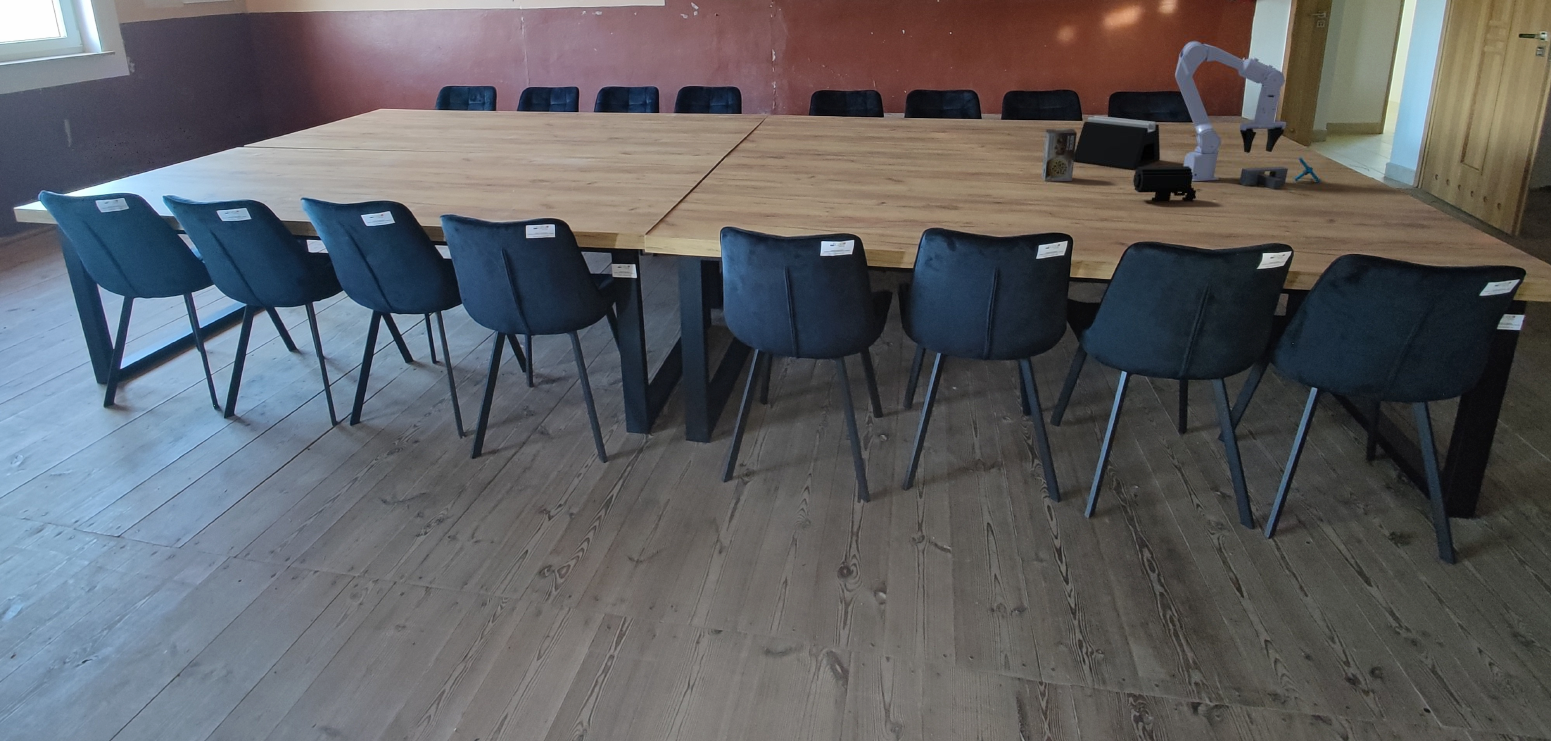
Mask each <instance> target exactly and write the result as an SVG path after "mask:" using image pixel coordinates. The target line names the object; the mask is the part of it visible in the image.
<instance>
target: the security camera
mask: <svg viewBox="0 0 1551 741" xmlns="http://www.w3.org/2000/svg"><path fill="white" fill-rule="evenodd" d="M1191 171H1192V169H1191V168H1189V167H1187V166H1184V165H1183V166H1182V165H1181V166H1178V165H1177V166H1174V165H1173V166H1172V165H1171V166H1143V167H1138V168H1137V169H1135V172H1134V175H1133V182H1132V183H1133V187H1134V190H1135V191H1136V192H1137V193H1154V197H1151V201H1152V202H1154V203H1155V202H1156V203H1157V202H1158V203H1164V202H1165V203H1166V202H1167V203H1169V202H1170V201H1171V196H1172V194H1173V196H1174V197H1182V198H1181V200H1182V201H1184V202H1194V200H1196V199H1197V196H1196V194H1197V190H1195V188H1194V187H1193V186H1192V182H1193V181H1192V178H1193V175H1192V172H1191Z"/></svg>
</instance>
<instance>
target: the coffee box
mask: <svg viewBox="0 0 1551 741" xmlns="http://www.w3.org/2000/svg"><path fill="white" fill-rule="evenodd" d="M1077 134H1078V132H1077V131H1076V130H1075V129H1074V128H1062V129H1061V128H1059V129H1058V128H1055V129H1053V128H1052V129H1051V128H1048V129H1046V130H1045V137H1044V138H1045V140H1044V146H1043V147H1044V148H1043V158H1042V170H1041V178H1042V180H1043V181H1044V182H1072V181H1073V173H1074V163H1075V162H1074V155H1075V150H1076V146H1077V144H1076V143H1077Z"/></svg>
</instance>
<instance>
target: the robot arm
mask: <svg viewBox="0 0 1551 741" xmlns="http://www.w3.org/2000/svg"><path fill="white" fill-rule="evenodd" d="M1204 61H1205V62H1213V61H1215V62H1216V61H1217V62H1219V63H1222V64H1224V65H1226V66H1229V67H1230V68H1231V67H1232V68H1234V69H1236V70H1237V71H1238V76H1240V77H1242V78H1245V79H1247V80H1249V81H1251V82H1253V83H1256V84H1261V87H1260V91H1259V94H1258V100H1257V103H1256V104H1257V105H1256V110H1255V115H1254V119H1253V121H1249V122H1241V123H1240V126H1239V130H1240V131H1239V132H1240V135H1241V137H1242V142H1243V143H1242V144H1243V152H1244V153H1246V154H1250V152H1251V151H1252V145H1253V142H1254V138H1255V137H1256V134H1257V132H1256V131H1254V130H1266V131H1267V139H1266V140H1267V141H1266V145H1265V151H1266V152H1269V153H1272V151H1273V149H1274V147H1275V146H1276V144H1277V142H1278V140H1279V139H1280V138H1281V136H1282V135H1283V134H1284V132H1285V129H1286V126H1287V122H1285V121H1275V118H1276V113H1277V109H1278V104H1279V100H1280V91H1281V87H1282V86H1284V84H1285V81H1286V79H1285V76H1284V75H1285V74H1284V73H1283V72H1282V71H1280V70H1278V69H1277V68H1275V67H1273V65H1272V64H1269V65H1267V64H1265V63H1263V62H1260V61H1259V59H1258V58H1256V57H1253V58H1251V57H1249V58H1246V59H1242V58H1239V57H1238V56H1235V55H1233V54H1232V53H1229V52H1227V51H1225V50H1223V49H1222V48H1219V47H1217V46H1213V45H1210V44H1207V43H1203V44H1202V43H1201V42H1199V41H1197V40H1192V41H1189V42H1188V43H1186V44H1185V45H1184V47H1183V48H1182V50H1180V53H1179V56H1178V61H1177V64H1176V69H1175V72H1174V73H1175V74H1174V77H1175V80H1176V83H1177V85H1178V88H1179V90H1180V92H1181V95H1182V98H1183V100H1184V103H1185V105H1186V107H1187V111H1188V113H1189V116H1190V118H1191V120H1192V123H1193V126H1194V129H1195V132H1196V139H1195V140H1196V143H1197V146H1196V147H1195V148H1194V151H1190V152H1187V154H1185V157H1184V161H1183V166H1187V167H1189V168H1191V169H1192V171H1191V172H1192V175H1193V178H1192V182H1199V181H1200V182H1202V181H1203V182H1204V181H1220V178H1219V177H1218V176H1217V177H1216V176H1215V173H1216V167H1217V163H1218V162H1217V161H1218V155H1219V148H1220V146H1221V144H1222V139H1221V137H1220V135H1219V134H1218V133H1217V132H1216V131H1215V130H1214V128H1213V126H1212V123H1211V121H1210V118H1209V117H1208V113H1207V111H1206V109H1205V107H1204V103H1203V101H1202V98H1201V96H1200V93H1199V90H1198V88H1197V86H1196V84H1195V79H1194V78H1193V75H1194V74H1195V72H1196V70H1197V69H1198V67H1199V66H1200V65H1201V64H1202V63H1203V62H1204Z"/></svg>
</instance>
